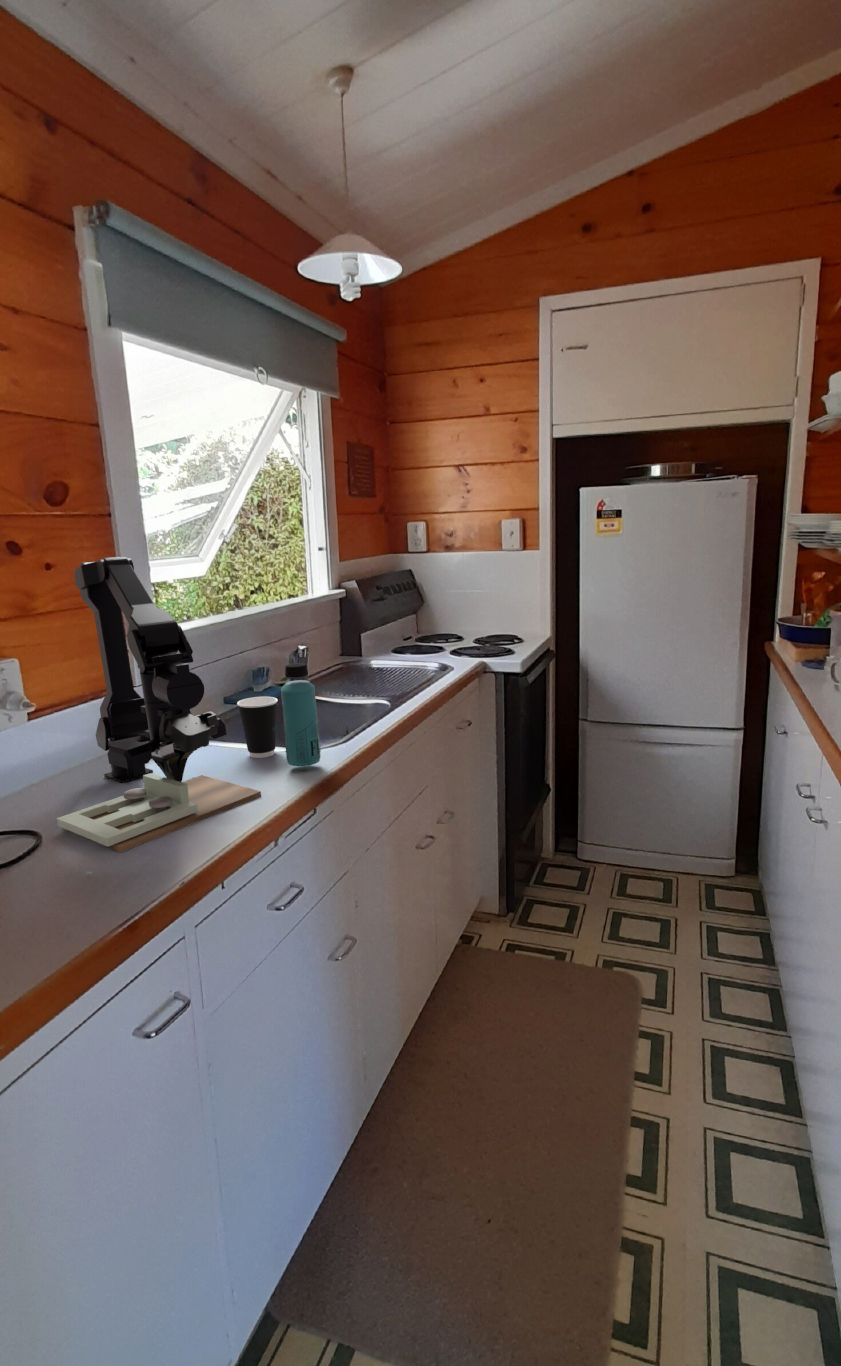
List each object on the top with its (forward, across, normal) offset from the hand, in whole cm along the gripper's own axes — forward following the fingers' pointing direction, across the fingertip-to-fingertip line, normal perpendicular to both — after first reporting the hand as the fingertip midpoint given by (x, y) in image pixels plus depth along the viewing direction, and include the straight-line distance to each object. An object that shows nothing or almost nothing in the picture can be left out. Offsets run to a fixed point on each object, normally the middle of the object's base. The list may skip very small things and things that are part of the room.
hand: (177, 790), depth 121 cm
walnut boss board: (+3, -2, 0) cm, 4 cm away
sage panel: (+1, -9, 0) cm, 9 cm away
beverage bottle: (+4, +24, -4) cm, 25 cm away
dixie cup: (+4, +26, +10) cm, 29 cm away
